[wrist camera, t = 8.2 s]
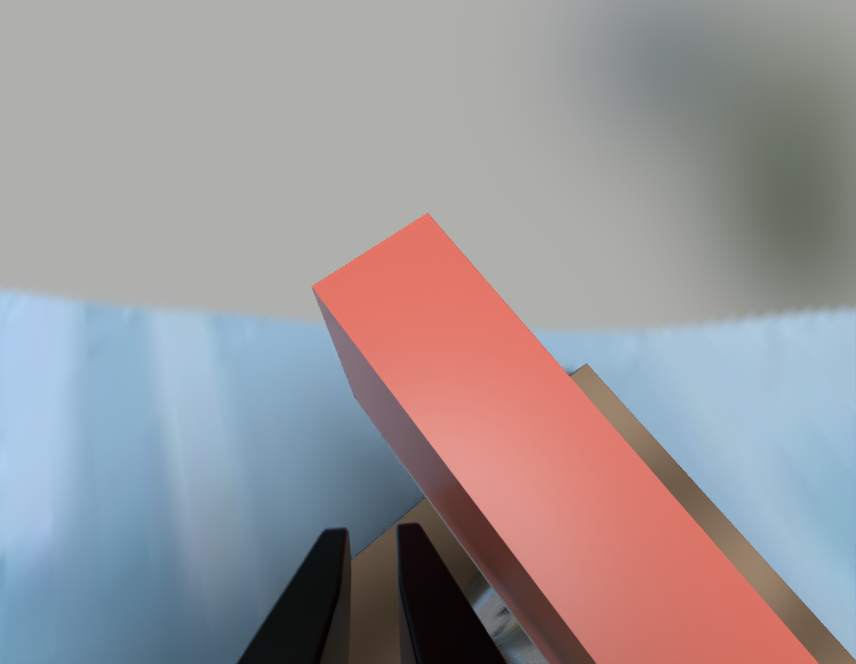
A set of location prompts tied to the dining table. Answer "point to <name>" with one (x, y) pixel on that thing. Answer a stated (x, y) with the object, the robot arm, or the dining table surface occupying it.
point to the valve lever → (534, 470)
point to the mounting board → (377, 569)
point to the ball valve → (500, 623)
